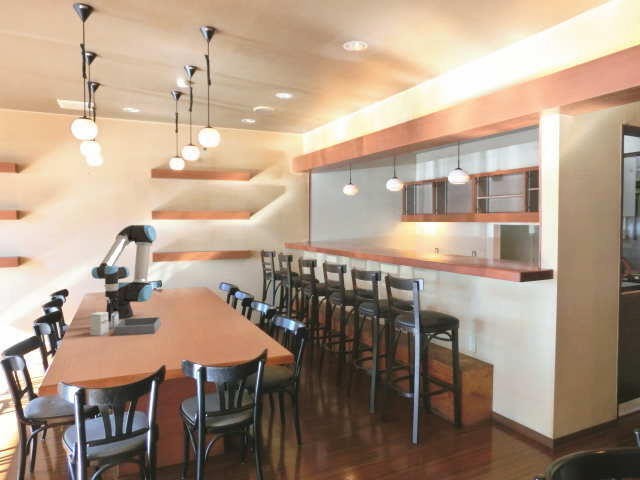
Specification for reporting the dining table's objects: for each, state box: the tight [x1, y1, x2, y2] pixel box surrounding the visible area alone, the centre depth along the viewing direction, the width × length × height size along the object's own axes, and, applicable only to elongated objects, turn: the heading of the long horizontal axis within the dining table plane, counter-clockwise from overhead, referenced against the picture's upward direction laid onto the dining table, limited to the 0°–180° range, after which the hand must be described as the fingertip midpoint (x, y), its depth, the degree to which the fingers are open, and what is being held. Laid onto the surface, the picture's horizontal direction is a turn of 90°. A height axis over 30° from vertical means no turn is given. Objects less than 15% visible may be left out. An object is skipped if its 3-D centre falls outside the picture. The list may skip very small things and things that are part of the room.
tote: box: [114, 316, 162, 337], centre depth 271 cm, size 22×22×5 cm
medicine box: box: [109, 313, 120, 331], centre depth 277 cm, size 8×4×9 cm, turn 5°
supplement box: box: [89, 311, 110, 337], centre depth 262 cm, size 7×7×13 cm
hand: (112, 324), depth 277 cm, fingers open, 13 cm apart
